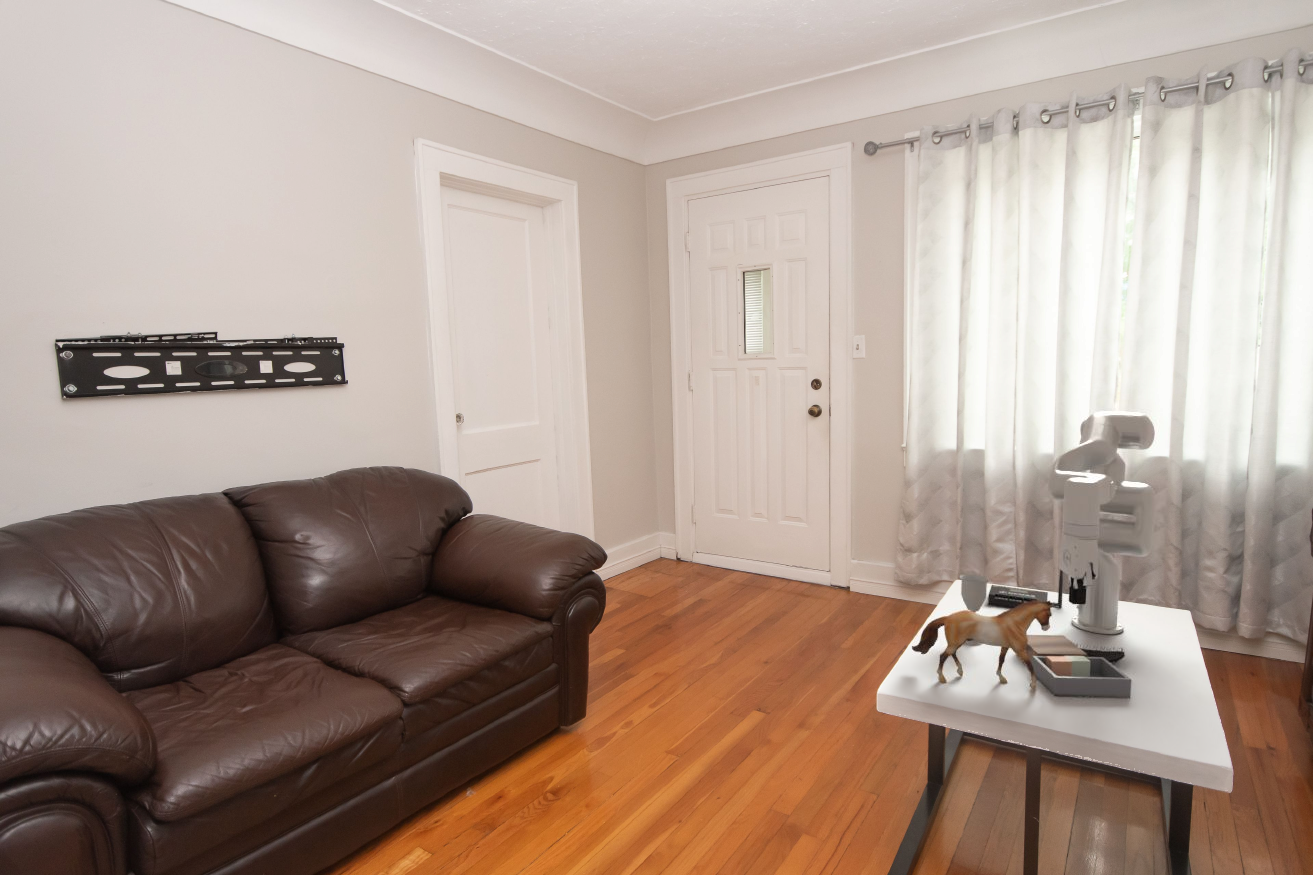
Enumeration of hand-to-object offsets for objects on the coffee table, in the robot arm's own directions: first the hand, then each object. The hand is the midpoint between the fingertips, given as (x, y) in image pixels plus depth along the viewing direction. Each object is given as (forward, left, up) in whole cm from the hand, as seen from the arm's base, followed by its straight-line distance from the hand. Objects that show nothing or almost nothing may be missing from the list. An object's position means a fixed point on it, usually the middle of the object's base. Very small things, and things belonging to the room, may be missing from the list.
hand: (1077, 602), depth 171 cm
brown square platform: (-6, -3, -18) cm, 19 cm away
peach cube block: (+2, -5, -15) cm, 16 cm away
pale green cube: (+2, -1, -15) cm, 15 cm away
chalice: (-19, -18, -18) cm, 31 cm away
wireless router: (-49, +9, -19) cm, 53 cm away
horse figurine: (+3, -24, -18) cm, 30 cm away
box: (+7, -2, -18) cm, 19 cm away
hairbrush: (-13, +5, -19) cm, 23 cm away
